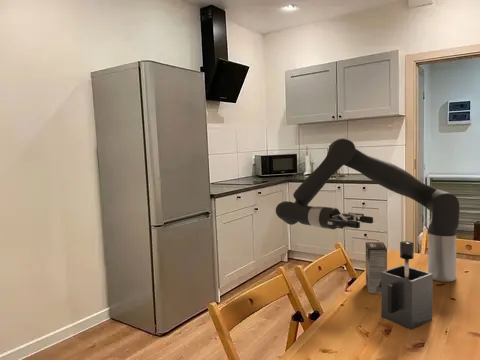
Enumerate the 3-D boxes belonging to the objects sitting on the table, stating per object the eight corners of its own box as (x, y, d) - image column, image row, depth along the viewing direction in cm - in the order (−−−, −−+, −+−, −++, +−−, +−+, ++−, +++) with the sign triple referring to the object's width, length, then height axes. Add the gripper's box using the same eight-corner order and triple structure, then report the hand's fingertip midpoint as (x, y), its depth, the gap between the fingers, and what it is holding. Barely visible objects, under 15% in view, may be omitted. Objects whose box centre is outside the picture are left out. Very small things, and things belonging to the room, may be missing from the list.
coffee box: (365, 283, 140) (365, 241, 139) (383, 284, 139) (383, 241, 137) (368, 293, 131) (368, 248, 130) (387, 294, 130) (387, 248, 128)
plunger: (402, 304, 117) (402, 237, 115) (427, 313, 110) (428, 243, 108) (385, 311, 113) (385, 242, 111) (410, 321, 106) (411, 248, 104)
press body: (401, 308, 119) (401, 265, 117) (432, 320, 110) (432, 273, 109) (374, 319, 112) (374, 274, 110) (405, 333, 103) (405, 284, 102)
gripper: (311, 210, 129) (354, 214, 117) (334, 204, 138) (376, 207, 126) (312, 231, 129) (355, 238, 117) (335, 224, 139) (377, 229, 127)
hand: (366, 222), depth 122 cm, fingers open, 8 cm apart
